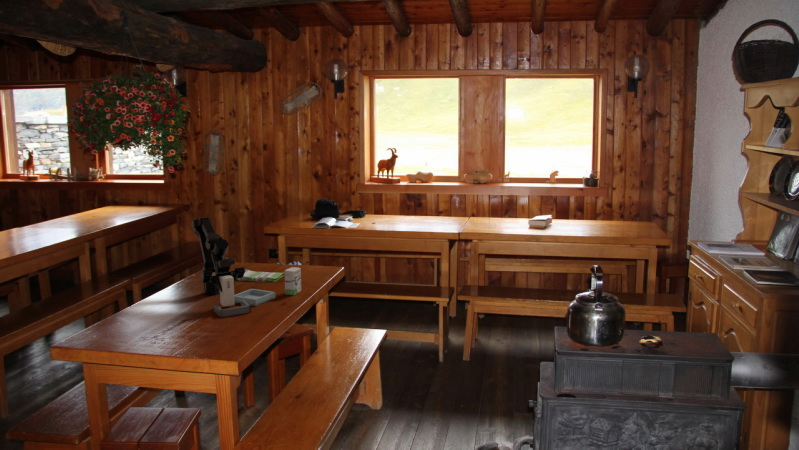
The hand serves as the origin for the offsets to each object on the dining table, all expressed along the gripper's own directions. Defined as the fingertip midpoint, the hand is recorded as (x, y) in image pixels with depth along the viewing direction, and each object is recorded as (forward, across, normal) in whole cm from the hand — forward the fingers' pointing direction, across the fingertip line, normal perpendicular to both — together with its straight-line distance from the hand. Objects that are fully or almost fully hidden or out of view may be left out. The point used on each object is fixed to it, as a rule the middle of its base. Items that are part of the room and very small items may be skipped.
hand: (227, 290), depth 295 cm
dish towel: (-26, +30, +40) cm, 56 cm away
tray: (+1, +14, +10) cm, 17 cm away
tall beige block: (+4, 0, +6) cm, 7 cm away
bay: (+10, 0, +2) cm, 10 cm away
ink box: (0, +34, +12) cm, 37 cm away
